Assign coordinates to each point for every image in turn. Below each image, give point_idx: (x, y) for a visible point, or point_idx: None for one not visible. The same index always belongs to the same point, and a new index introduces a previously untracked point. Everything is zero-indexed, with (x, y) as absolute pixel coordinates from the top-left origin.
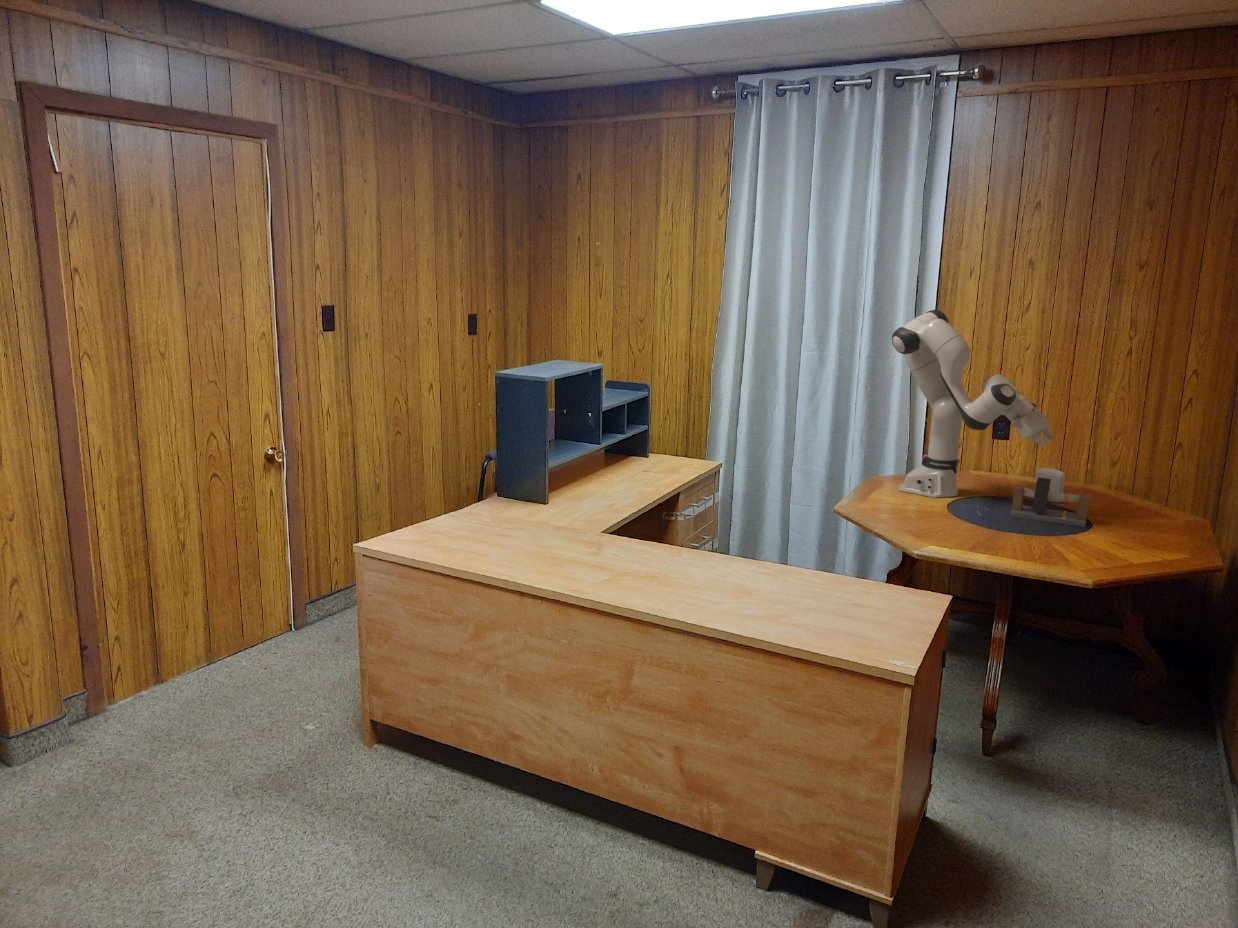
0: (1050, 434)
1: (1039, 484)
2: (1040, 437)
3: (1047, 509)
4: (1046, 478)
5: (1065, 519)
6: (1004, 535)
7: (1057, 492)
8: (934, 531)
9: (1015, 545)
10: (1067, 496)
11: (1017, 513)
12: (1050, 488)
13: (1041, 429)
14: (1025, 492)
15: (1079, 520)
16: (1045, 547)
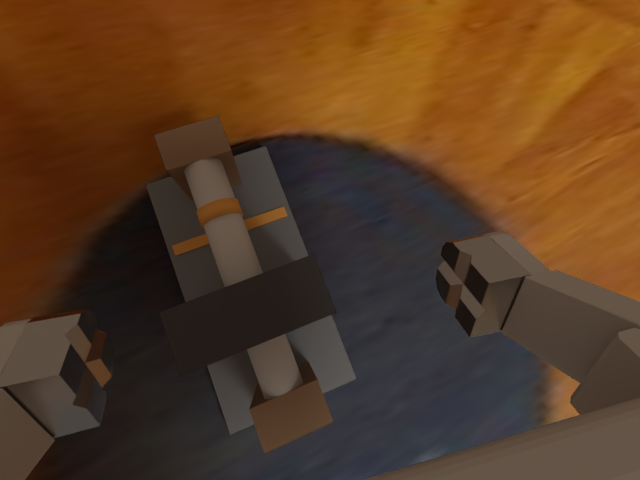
0: (17, 381)
1: (329, 296)
2: (595, 301)
3: None
4: (167, 334)
5: (280, 205)
6: (566, 270)
7: (229, 248)
8: None
9: (617, 204)
10: (234, 202)
11: (346, 354)
12: None
13: (450, 463)
14: (299, 372)
15: (253, 170)
16: (561, 145)
